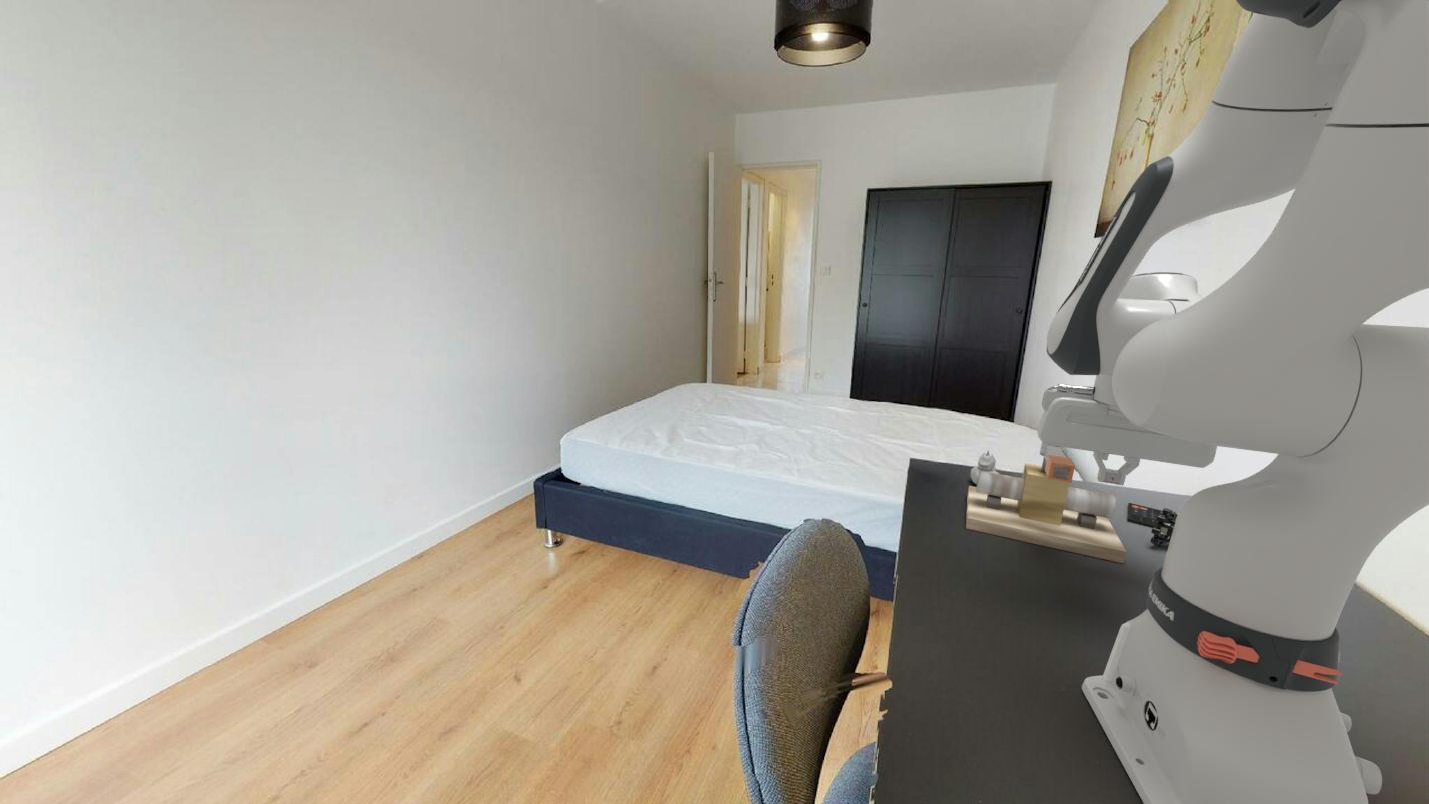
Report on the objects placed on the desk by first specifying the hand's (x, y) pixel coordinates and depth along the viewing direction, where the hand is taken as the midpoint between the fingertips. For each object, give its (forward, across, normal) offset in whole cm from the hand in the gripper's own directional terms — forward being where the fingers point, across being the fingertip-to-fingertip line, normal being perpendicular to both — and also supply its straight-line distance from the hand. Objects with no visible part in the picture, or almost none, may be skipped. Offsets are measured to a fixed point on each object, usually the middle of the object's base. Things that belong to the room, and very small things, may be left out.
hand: (1109, 482), depth 76 cm
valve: (+14, +16, +10) cm, 23 cm away
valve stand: (+13, -6, +10) cm, 18 cm away
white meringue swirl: (+13, -15, +26) cm, 33 cm away
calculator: (+14, +16, +24) cm, 32 cm away
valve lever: (0, -6, +5) cm, 8 cm away
